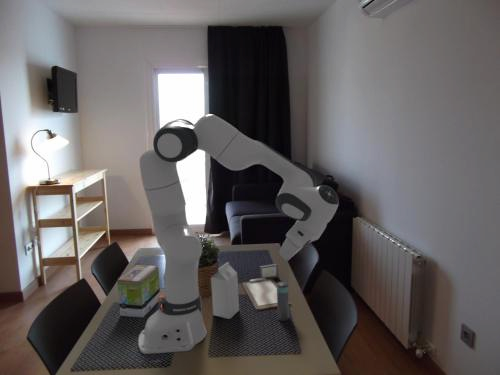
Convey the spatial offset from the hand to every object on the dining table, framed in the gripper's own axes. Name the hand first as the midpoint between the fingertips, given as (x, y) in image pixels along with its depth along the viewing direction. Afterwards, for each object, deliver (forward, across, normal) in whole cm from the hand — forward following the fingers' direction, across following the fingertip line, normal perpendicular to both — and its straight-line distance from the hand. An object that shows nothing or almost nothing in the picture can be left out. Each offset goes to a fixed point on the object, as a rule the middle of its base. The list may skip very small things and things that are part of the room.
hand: (295, 251), depth 132 cm
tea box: (+44, +36, -32) cm, 66 cm away
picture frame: (+41, -13, -7) cm, 44 cm away
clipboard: (+34, -1, -2) cm, 34 cm away
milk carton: (+31, +19, -6) cm, 37 cm away
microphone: (+22, +9, +11) cm, 26 cm away
